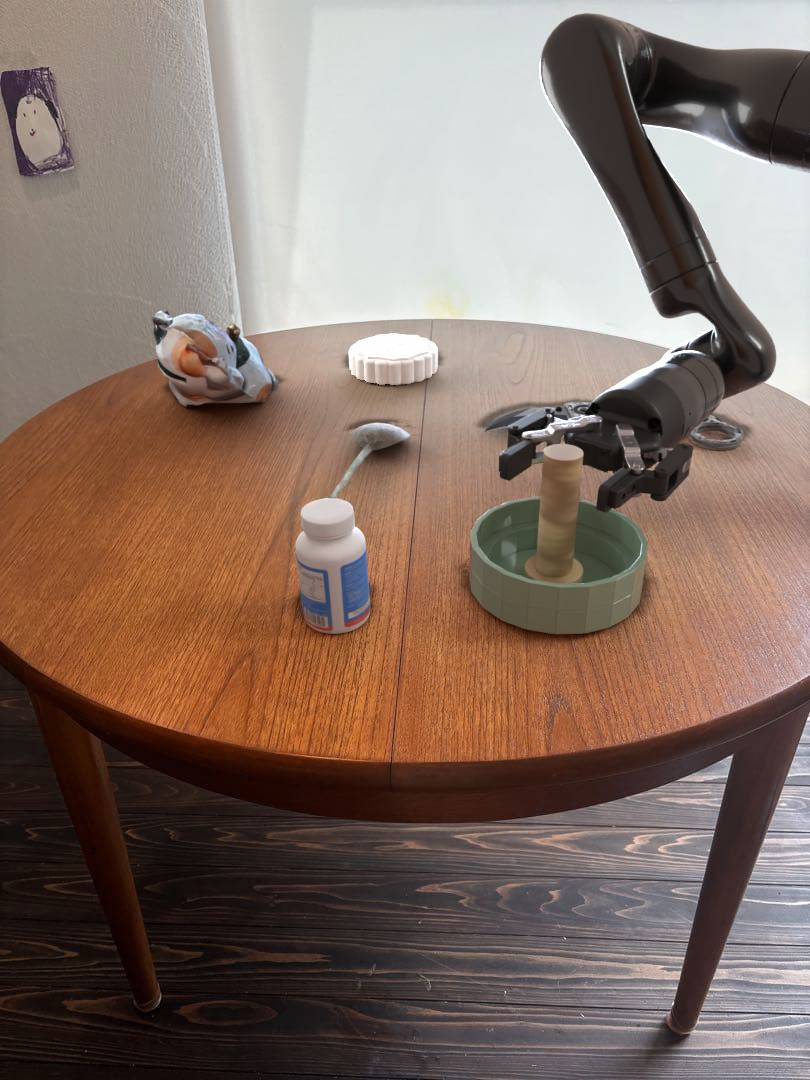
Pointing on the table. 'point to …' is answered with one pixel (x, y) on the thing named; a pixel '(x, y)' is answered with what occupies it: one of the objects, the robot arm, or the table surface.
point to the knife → (580, 408)
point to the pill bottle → (332, 567)
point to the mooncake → (393, 359)
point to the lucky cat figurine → (209, 361)
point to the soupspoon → (370, 446)
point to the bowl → (597, 603)
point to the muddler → (558, 517)
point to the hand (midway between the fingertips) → (550, 484)
